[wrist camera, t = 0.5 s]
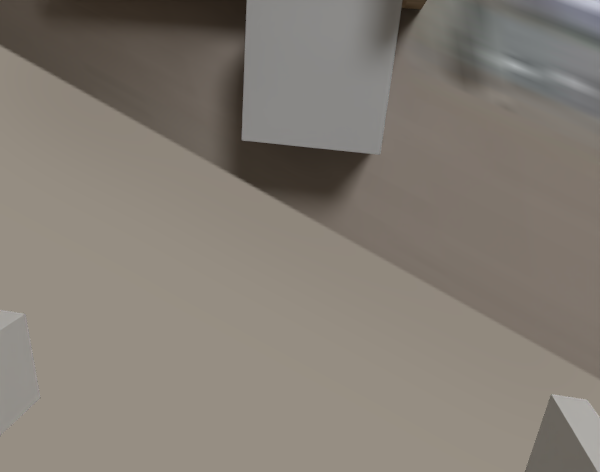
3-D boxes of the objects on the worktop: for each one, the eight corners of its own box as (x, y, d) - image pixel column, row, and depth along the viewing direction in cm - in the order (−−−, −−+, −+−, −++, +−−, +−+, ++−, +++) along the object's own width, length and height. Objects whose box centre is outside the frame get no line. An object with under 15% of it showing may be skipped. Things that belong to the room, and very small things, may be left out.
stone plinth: (272, 7, 31) (247, -17, 24) (395, 15, 30) (403, -7, 23) (265, 131, 34) (241, 140, 27) (377, 143, 33) (380, 154, 26)
